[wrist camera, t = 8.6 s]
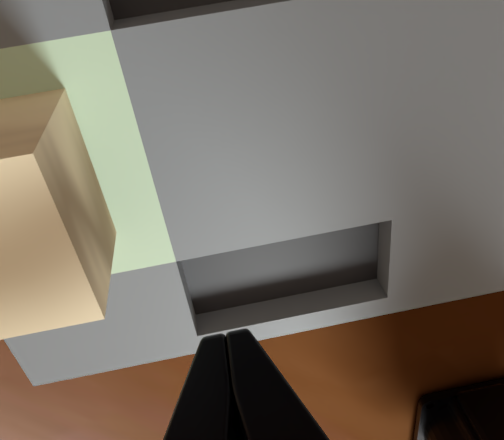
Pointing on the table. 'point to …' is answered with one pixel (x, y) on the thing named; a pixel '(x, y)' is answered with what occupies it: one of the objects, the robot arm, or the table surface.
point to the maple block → (50, 219)
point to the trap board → (271, 162)
